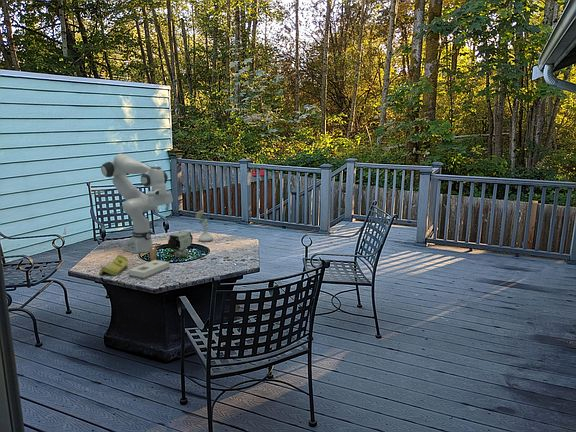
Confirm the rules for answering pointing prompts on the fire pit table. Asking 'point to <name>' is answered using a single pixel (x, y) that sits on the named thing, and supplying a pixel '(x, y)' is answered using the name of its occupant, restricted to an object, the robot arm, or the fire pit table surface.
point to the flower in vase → (205, 235)
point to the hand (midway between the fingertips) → (162, 211)
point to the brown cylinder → (153, 253)
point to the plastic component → (115, 265)
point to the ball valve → (180, 242)
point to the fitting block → (149, 269)
